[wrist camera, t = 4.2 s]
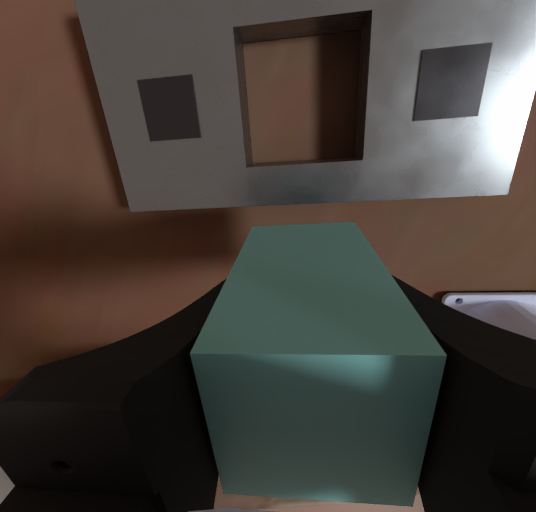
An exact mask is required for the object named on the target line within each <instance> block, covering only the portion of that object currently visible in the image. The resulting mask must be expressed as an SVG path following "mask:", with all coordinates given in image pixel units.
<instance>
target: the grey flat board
mask: <svg viewBox="0 0 536 512" xmlns="http://www.w3.org/2000/svg"><path fill="white" fill-rule="evenodd" d="M74 2H75V5H76V9H77V13H78V17H79V20H80V24H81V28H82V32H83V35H84V39H85V43H86V47H87V50H88V54H89V58H90V62H91V65H92V69H93V73H94V77H95V80H96V84H97V88H98V92H99V95H100V99H101V103H102V107H103V110H104V114H105V118H106V122H107V125H108V129H109V133H110V137H111V141H112V144H113V148H114V152H115V156H116V159H117V163H118V167H119V171H120V174H121V178H122V182H123V186H124V189H125V193H126V197H127V201H128V204H129V208H130V212H138V211H159V210H181V209H203V208H225V207H246V206H268V205H290V204H312V203H333V202H355V201H377V200H399V199H420V198H442V197H464V196H486V195H507V194H508V190H509V187H510V183H511V179H512V175H513V172H514V168H515V164H516V160H517V157H518V153H519V149H520V145H521V142H522V138H523V134H524V130H525V127H526V123H527V119H528V115H529V112H530V108H531V104H532V100H533V97H534V93H535V89H536V0H74ZM353 30H361V38H360V58H359V78H358V97H357V117H356V137H355V157H352V158H337V159H321V160H306V161H290V162H275V163H259V164H253V161H252V150H251V138H250V126H249V115H248V103H247V91H246V79H245V68H244V56H243V44H242V43H251V42H259V41H268V40H276V39H285V38H293V37H302V36H310V35H319V34H328V33H336V32H345V31H353Z"/></svg>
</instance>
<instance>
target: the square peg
mask: <svg viewBox="0 0 536 512" xmlns="http://www.w3.org/2000/svg"><path fill="white" fill-rule="evenodd" d="M190 356H191V361H192V365H193V369H194V373H195V377H196V381H197V386H198V390H199V394H200V398H201V402H202V406H203V410H204V415H205V419H206V423H207V427H208V431H209V435H210V439H211V444H212V448H213V452H214V456H215V460H216V464H217V468H218V473H219V477H220V481H221V485H222V489H223V493H224V494H237V495H252V496H266V497H281V498H295V499H310V500H324V501H339V502H353V503H368V504H383V505H397V506H413V503H414V499H415V494H416V490H417V486H418V481H419V477H420V472H421V468H422V464H423V459H424V455H425V450H426V446H427V442H428V437H429V433H430V428H431V424H432V419H433V415H434V411H435V406H436V402H437V397H438V393H439V389H440V384H441V380H442V375H443V371H444V367H445V362H446V358H447V355H446V353H445V352H444V351H443V349H442V348H441V346H440V345H439V343H438V342H437V340H436V339H435V338H434V336H433V335H432V333H431V332H430V330H429V329H428V327H427V326H426V324H425V323H424V322H423V320H422V319H421V317H420V316H419V314H418V313H417V311H416V310H415V309H414V307H413V306H412V304H411V303H410V301H409V300H408V298H407V297H406V296H405V294H404V293H403V291H402V290H401V288H400V287H399V285H398V284H397V282H396V281H395V280H394V278H393V277H392V275H391V274H390V272H389V271H388V269H387V268H386V267H385V265H384V264H383V262H382V261H381V259H380V258H379V256H378V255H377V254H376V252H375V251H374V249H373V248H372V246H371V245H370V243H369V242H368V240H367V239H366V238H365V236H364V235H363V233H362V232H361V230H360V229H359V227H358V226H357V225H356V223H355V222H338V223H317V224H295V225H274V226H253V227H252V228H251V230H250V232H249V234H248V236H247V238H246V240H245V242H244V244H243V247H242V249H241V251H240V253H239V255H238V257H237V259H236V261H235V263H234V265H233V267H232V269H231V271H230V273H229V275H228V277H227V279H226V281H225V283H224V285H223V287H222V289H221V291H220V293H219V295H218V297H217V299H216V301H215V303H214V305H213V307H212V310H211V312H210V314H209V316H208V318H207V320H206V322H205V324H204V326H203V328H202V330H201V332H200V334H199V336H198V338H197V340H196V342H195V344H194V346H193V348H192V350H191V352H190Z"/></svg>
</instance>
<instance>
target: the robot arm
mask: <svg viewBox="0 0 536 512" xmlns="http://www.w3.org/2000/svg"><path fill="white" fill-rule="evenodd" d="M392 277H393V278H394V280H395V281H396V282H397V284H398V285H399V287H400V288H401V290H402V291H403V293H404V294H405V296H406V297H407V298H408V300H409V301H410V303H411V304H412V306H413V307H414V309H415V310H416V311H417V313H418V314H419V316H420V317H421V319H422V320H423V322H424V323H425V324H426V326H427V327H428V329H429V330H430V332H431V333H432V335H433V336H434V338H435V339H436V340H437V342H438V343H439V345H440V346H441V348H442V349H443V351H444V352H445V353H446V355H447V358H446V362H445V367H444V371H443V375H442V380H441V384H440V389H439V393H438V397H437V402H436V406H435V411H434V415H433V419H432V424H431V428H430V433H429V437H428V442H427V446H426V450H425V455H424V459H423V464H422V468H421V472H420V477H419V481H418V488H419V491H420V495H421V499H422V503H423V507H424V511H425V512H536V292H494V293H447V294H445V295H444V296H443V298H442V301H441V302H439V301H437V300H435V299H433V298H431V297H429V296H428V295H426V294H424V293H422V292H420V291H419V290H417V289H415V288H413V287H412V286H410V285H408V284H406V283H405V282H403V281H401V280H400V279H398V278H396V277H394V276H393V275H392ZM226 279H227V278H226ZM226 279H225V280H224V281H222V282H221V283H220V284H218V285H217V286H216V287H214V288H213V289H212V290H210V291H209V292H208V293H206V294H205V295H203V296H202V297H201V298H199V299H198V300H196V301H195V302H193V303H192V304H190V305H189V306H187V307H186V308H184V309H183V310H181V311H180V312H178V313H176V314H174V315H173V316H171V317H169V318H167V319H165V320H164V321H162V322H160V323H158V324H156V325H154V326H152V327H150V328H147V329H145V330H143V331H141V332H139V333H136V334H134V335H132V336H130V337H127V338H125V339H122V340H120V341H117V342H115V343H112V344H109V345H107V346H104V347H101V348H98V349H95V350H92V351H89V352H86V353H83V354H80V355H77V356H73V357H70V358H66V359H63V360H59V361H56V362H53V363H49V364H45V365H42V366H38V367H35V368H34V369H33V370H32V371H30V372H29V373H28V374H27V375H26V376H25V377H24V378H23V379H22V380H21V381H19V382H18V383H17V384H16V385H15V386H14V387H13V388H11V389H10V390H9V391H8V392H7V393H6V394H5V395H3V396H2V397H1V398H0V466H1V468H2V469H3V471H4V472H5V473H6V475H7V476H8V477H9V479H10V480H11V481H12V483H13V484H14V485H15V486H14V488H13V489H12V490H11V491H10V493H9V494H8V495H7V496H6V498H5V499H4V500H3V501H2V503H1V504H0V512H271V511H259V510H246V509H233V508H223V509H213V508H214V501H215V494H216V488H217V481H218V475H219V473H218V468H217V464H216V460H215V456H214V452H213V448H212V444H211V439H210V435H209V431H208V427H207V423H206V419H205V415H204V410H203V406H202V402H201V398H200V394H199V390H198V386H197V381H196V377H195V373H194V369H193V365H192V361H191V356H190V352H191V350H192V348H193V346H194V344H195V342H196V340H197V338H198V336H199V334H200V332H201V330H202V328H203V326H204V324H205V322H206V320H207V318H208V316H209V314H210V312H211V310H212V307H213V305H214V303H215V301H216V299H217V297H218V295H219V293H220V291H221V289H222V287H223V285H224V283H225V281H226ZM458 298H460V300H458V301H456V299H458ZM272 512H273V511H272Z"/></svg>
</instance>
